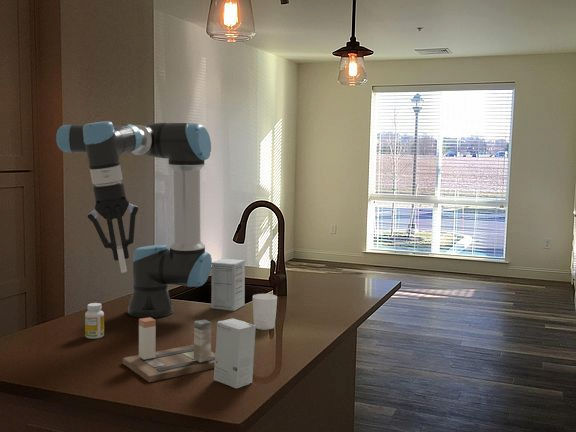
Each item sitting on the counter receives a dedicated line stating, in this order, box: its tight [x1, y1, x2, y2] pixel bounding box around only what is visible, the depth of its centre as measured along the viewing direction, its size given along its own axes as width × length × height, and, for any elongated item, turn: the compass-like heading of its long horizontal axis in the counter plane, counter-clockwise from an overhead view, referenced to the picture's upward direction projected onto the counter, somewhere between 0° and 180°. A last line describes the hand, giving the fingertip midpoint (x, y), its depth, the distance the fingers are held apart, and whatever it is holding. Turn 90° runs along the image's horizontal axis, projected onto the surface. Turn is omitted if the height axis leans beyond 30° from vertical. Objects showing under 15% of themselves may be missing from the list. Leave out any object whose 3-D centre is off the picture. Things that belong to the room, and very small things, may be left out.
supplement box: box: [210, 258, 246, 312], centre depth 224 cm, size 10×9×17 cm
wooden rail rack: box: [122, 319, 215, 383], centre depth 163 cm, size 22×16×12 cm
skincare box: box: [213, 317, 256, 389], centre depth 151 cm, size 8×6×15 cm
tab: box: [138, 317, 157, 360], centre depth 162 cm, size 3×3×10 cm
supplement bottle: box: [84, 302, 105, 340], centre depth 185 cm, size 5×5×10 cm
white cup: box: [252, 293, 278, 331], centre depth 200 cm, size 8×8×10 cm
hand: (123, 271), depth 164 cm, fingers closed
